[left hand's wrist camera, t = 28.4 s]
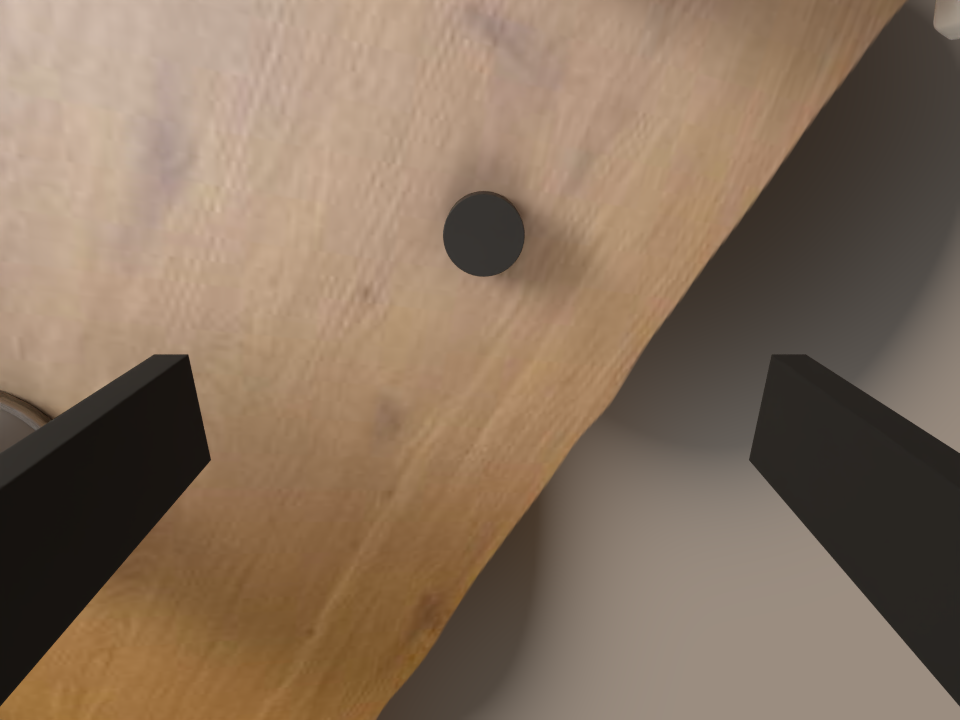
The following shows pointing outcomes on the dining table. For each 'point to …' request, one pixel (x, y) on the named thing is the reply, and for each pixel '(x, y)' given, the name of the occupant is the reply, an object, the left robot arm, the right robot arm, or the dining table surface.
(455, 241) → the lid
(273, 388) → the dining table surface
